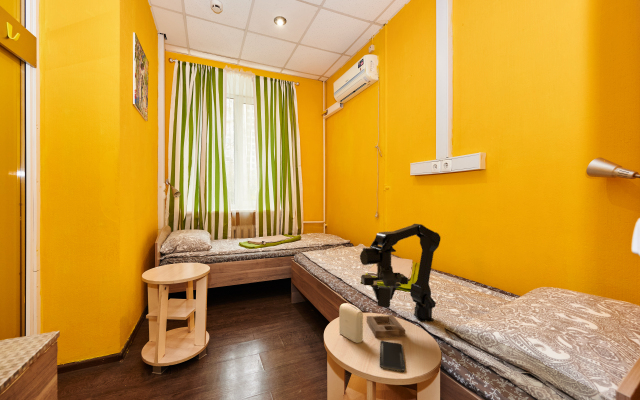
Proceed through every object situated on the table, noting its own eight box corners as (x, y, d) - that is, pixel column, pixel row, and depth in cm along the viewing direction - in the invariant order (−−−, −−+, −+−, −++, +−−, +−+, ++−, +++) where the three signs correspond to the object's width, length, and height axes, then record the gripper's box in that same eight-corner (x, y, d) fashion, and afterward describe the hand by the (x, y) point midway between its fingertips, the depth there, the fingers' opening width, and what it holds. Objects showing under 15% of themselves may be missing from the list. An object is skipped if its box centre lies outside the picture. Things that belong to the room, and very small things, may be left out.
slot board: (393, 321, 111) (393, 315, 111) (405, 336, 99) (405, 330, 99) (366, 321, 110) (366, 316, 110) (375, 337, 98) (375, 331, 98)
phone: (379, 366, 80) (380, 340, 94) (379, 369, 80) (380, 343, 94) (405, 370, 78) (402, 343, 92) (405, 374, 78) (402, 346, 92)
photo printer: (337, 333, 101) (337, 302, 101) (345, 329, 103) (345, 299, 103) (356, 344, 93) (357, 311, 93) (364, 340, 95) (364, 308, 95)
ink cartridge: (390, 306, 106) (390, 287, 106) (389, 308, 104) (390, 289, 104) (378, 303, 108) (379, 285, 108) (377, 305, 106) (377, 286, 106)
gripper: (368, 268, 97) (367, 308, 97) (414, 267, 99) (414, 307, 99) (360, 261, 108) (360, 297, 108) (402, 260, 110) (402, 296, 110)
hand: (384, 299), depth 106 cm, fingers closed on ink cartridge, 5 cm apart
